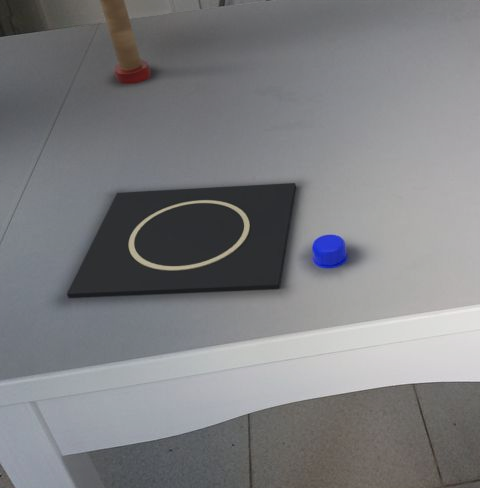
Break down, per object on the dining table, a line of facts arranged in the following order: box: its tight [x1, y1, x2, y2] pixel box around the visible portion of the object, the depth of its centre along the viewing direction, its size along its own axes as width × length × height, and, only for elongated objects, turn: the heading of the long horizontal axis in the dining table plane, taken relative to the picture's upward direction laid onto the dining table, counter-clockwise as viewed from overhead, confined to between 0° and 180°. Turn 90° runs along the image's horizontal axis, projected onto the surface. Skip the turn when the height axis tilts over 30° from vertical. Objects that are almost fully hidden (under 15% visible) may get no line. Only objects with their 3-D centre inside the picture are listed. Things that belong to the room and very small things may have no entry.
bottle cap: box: [311, 233, 348, 269], centre depth 62 cm, size 3×3×2 cm
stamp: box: [99, 0, 152, 85], centre depth 91 cm, size 4×4×13 cm
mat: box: [66, 182, 297, 299], centre depth 66 cm, size 18×16×1 cm
